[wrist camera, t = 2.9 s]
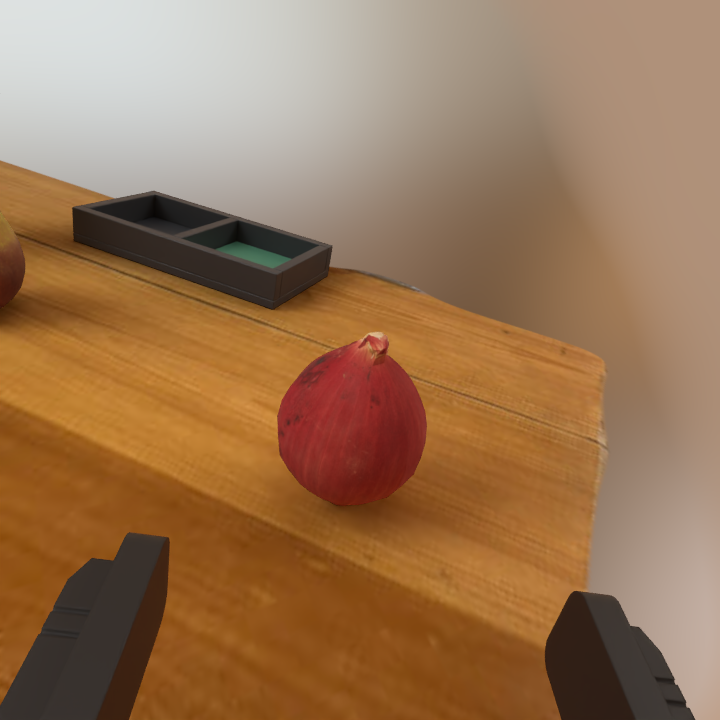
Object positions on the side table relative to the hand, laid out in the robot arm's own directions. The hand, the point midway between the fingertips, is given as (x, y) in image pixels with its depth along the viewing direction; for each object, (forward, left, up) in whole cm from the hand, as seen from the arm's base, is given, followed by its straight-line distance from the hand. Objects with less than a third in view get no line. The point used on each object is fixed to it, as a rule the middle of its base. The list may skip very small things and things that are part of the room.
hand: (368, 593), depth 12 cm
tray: (+11, -37, -7) cm, 39 cm away
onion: (0, -11, -8) cm, 13 cm away
